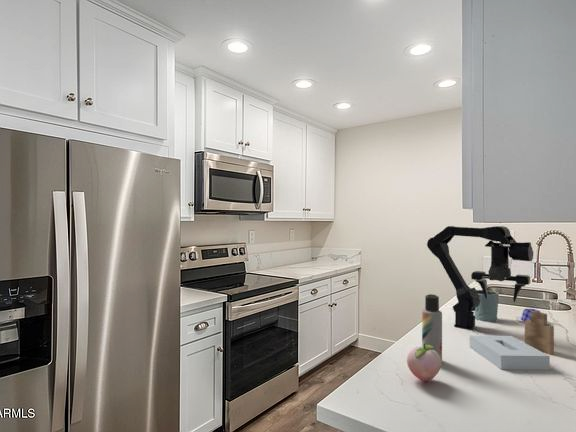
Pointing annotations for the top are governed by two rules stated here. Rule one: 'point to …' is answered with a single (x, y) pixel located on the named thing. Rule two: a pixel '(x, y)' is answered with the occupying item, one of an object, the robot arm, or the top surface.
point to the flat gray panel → (509, 353)
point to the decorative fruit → (424, 362)
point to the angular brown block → (539, 333)
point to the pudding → (527, 315)
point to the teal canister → (487, 306)
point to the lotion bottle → (432, 324)
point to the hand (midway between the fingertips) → (500, 300)
